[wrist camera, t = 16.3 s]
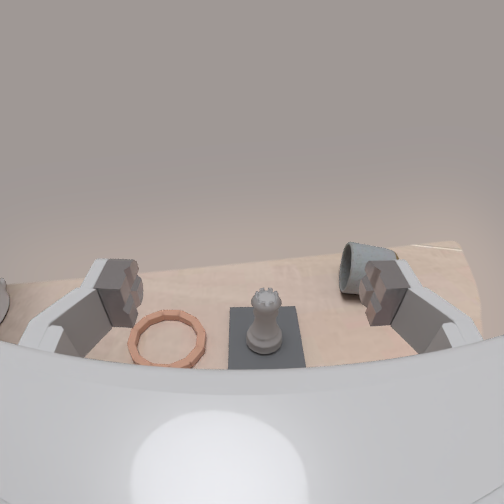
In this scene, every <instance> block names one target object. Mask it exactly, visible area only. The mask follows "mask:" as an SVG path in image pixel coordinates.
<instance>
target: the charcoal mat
mask: <svg viewBox="0 0 504 504" xmlns="http://www.w3.org/2000/svg"><path fill="white" fill-rule="evenodd" d="M253 309H254V308H253V307H230V327H229V360H228V370H256V369H289V368H306V365H305V359H304V353H303V347H302V341H301V336H300V330H299V324H298V319H297V313H296V308H295V306H286V307H280V308H279V309H278V312H279V313H278V316H277V317H276V323H277V325H278V326H279V328H280V329H281V331H282V344H281V346H280V348H278V349H277V350H276V351H275V352H272V353H269V354H260V353H257V352H254V351H253V350H252V349H250V348H249V346H248V345H247V343H246V336H247V331H248V329H249V327H250V326H251V325H252V323H253V322H254V318H255V315H254V314H253Z"/></svg>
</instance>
